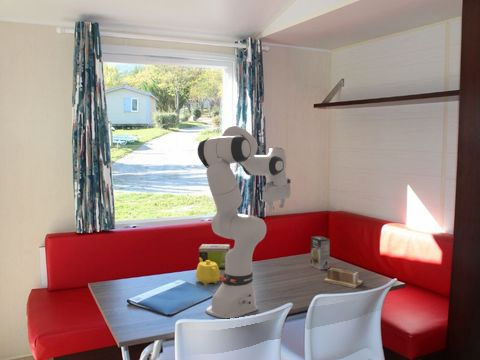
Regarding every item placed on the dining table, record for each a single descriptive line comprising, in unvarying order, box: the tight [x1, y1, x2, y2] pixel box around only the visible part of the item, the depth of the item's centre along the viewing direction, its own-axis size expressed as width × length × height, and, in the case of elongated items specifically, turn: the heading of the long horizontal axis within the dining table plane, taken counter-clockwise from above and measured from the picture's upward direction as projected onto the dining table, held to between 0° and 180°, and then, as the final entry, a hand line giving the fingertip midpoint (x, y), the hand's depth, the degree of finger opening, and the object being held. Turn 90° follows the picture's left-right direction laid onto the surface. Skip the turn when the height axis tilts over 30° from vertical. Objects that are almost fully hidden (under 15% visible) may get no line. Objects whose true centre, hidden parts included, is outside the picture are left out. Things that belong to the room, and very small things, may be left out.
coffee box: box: [310, 235, 331, 270], centre depth 256 cm, size 9×6×16 cm
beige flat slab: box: [323, 277, 364, 289], centre depth 231 cm, size 10×16×1 cm, turn 54°
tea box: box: [198, 243, 231, 276], centre depth 244 cm, size 15×10×15 cm, turn 84°
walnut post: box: [326, 267, 359, 284], centre depth 231 cm, size 4×4×14 cm
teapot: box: [195, 256, 220, 286], centre depth 231 cm, size 18×11×11 cm, turn 29°
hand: (276, 209), depth 232 cm, fingers open, 8 cm apart
